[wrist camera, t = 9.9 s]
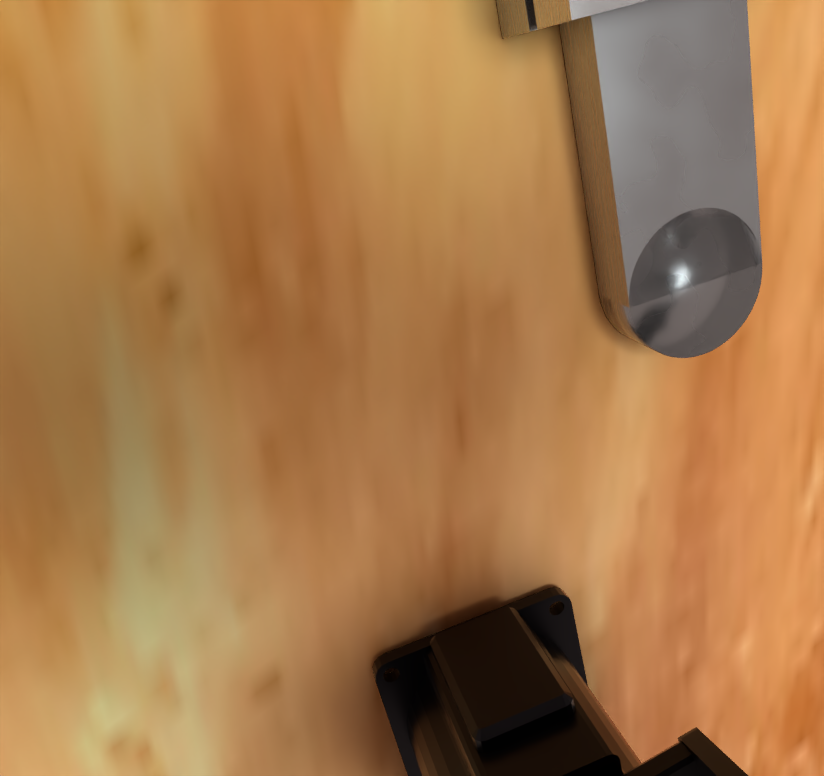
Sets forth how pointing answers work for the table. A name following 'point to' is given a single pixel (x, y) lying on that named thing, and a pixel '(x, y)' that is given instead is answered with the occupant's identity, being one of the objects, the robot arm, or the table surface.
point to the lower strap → (665, 164)
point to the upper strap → (573, 9)
